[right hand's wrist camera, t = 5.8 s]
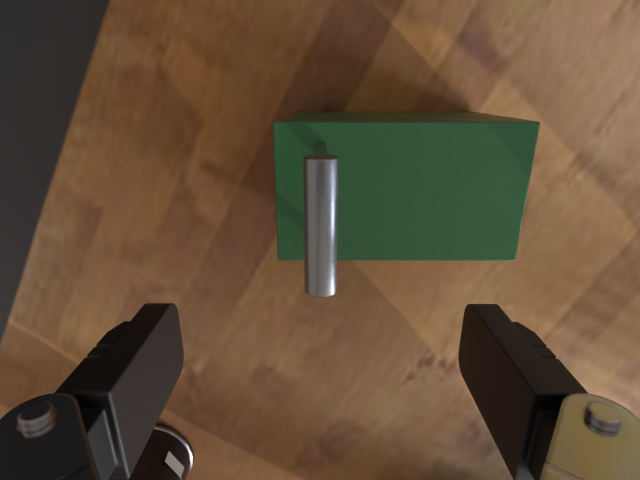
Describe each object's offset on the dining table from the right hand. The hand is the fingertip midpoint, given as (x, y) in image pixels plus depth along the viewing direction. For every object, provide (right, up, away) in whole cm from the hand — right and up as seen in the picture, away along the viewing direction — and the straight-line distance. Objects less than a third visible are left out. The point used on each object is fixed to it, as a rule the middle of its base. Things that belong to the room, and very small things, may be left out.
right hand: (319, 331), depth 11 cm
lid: (+5, +6, +16) cm, 18 cm away
